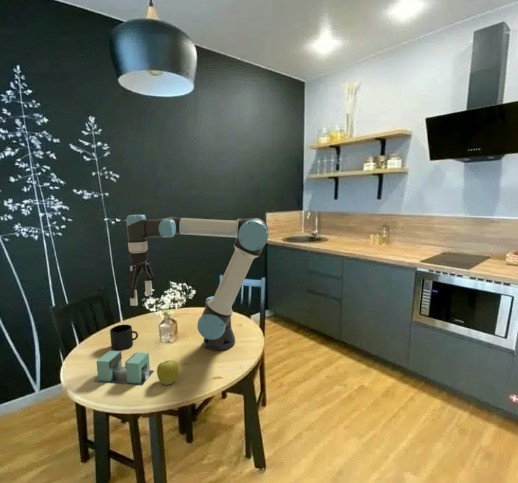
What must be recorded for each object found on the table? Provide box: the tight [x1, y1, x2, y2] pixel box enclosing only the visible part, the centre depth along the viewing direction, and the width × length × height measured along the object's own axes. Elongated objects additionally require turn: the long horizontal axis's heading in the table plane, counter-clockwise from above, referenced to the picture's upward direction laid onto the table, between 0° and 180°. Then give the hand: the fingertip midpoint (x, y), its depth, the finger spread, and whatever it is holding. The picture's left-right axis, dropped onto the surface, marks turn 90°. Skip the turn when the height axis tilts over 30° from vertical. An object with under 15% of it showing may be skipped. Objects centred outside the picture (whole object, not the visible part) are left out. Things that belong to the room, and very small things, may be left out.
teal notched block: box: [96, 350, 123, 381], centre depth 122 cm, size 6×8×8 cm
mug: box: [109, 324, 139, 351], centre depth 147 cm, size 9×12×9 cm
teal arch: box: [124, 352, 151, 383], centre depth 121 cm, size 6×8×8 cm
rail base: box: [92, 366, 155, 386], centre depth 122 cm, size 20×10×3 cm, turn 82°
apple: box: [156, 359, 180, 386], centre depth 118 cm, size 8×8×10 cm
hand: (141, 299), depth 134 cm, fingers open, 13 cm apart
